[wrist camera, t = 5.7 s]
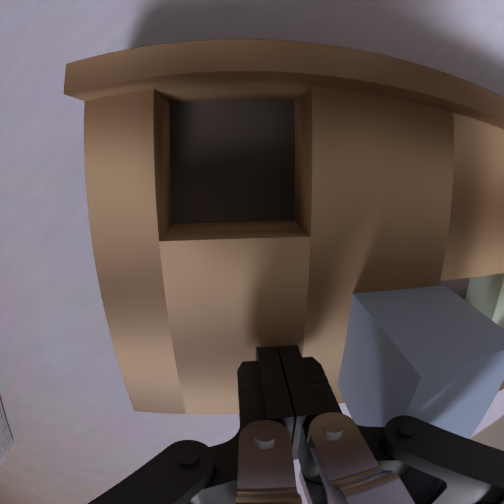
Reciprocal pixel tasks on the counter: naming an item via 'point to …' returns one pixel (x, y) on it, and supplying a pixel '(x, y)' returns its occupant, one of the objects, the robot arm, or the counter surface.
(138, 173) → the board
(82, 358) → the counter surface
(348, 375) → the block
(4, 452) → the light bulb box
